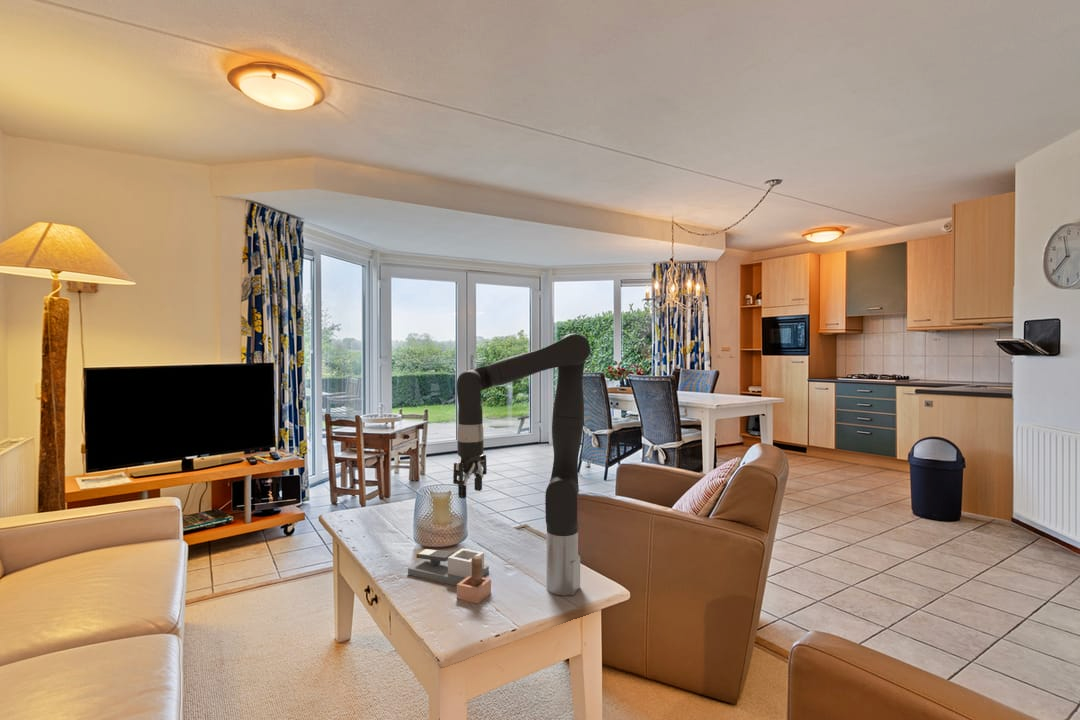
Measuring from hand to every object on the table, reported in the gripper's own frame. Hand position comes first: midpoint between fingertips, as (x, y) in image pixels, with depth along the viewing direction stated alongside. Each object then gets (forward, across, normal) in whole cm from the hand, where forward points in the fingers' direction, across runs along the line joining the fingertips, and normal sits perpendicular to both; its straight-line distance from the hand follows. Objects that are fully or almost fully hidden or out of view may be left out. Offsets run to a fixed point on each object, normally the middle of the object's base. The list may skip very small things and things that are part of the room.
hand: (470, 494), depth 153 cm
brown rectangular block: (+28, -3, -4) cm, 29 cm away
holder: (+28, -3, -3) cm, 28 cm away
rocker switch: (+23, +6, +17) cm, 29 cm away
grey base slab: (+28, +6, +12) cm, 31 cm away
